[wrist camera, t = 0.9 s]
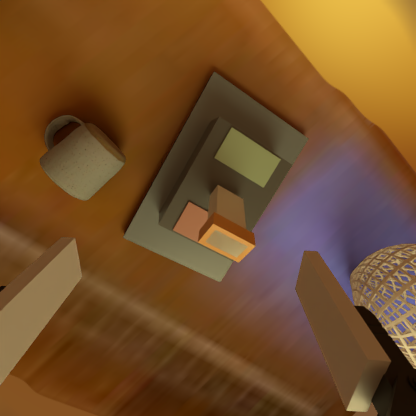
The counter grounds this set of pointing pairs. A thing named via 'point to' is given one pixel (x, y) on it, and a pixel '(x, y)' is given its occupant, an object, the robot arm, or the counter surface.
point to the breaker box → (214, 174)
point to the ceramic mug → (80, 158)
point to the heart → (359, 293)
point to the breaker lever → (226, 226)
